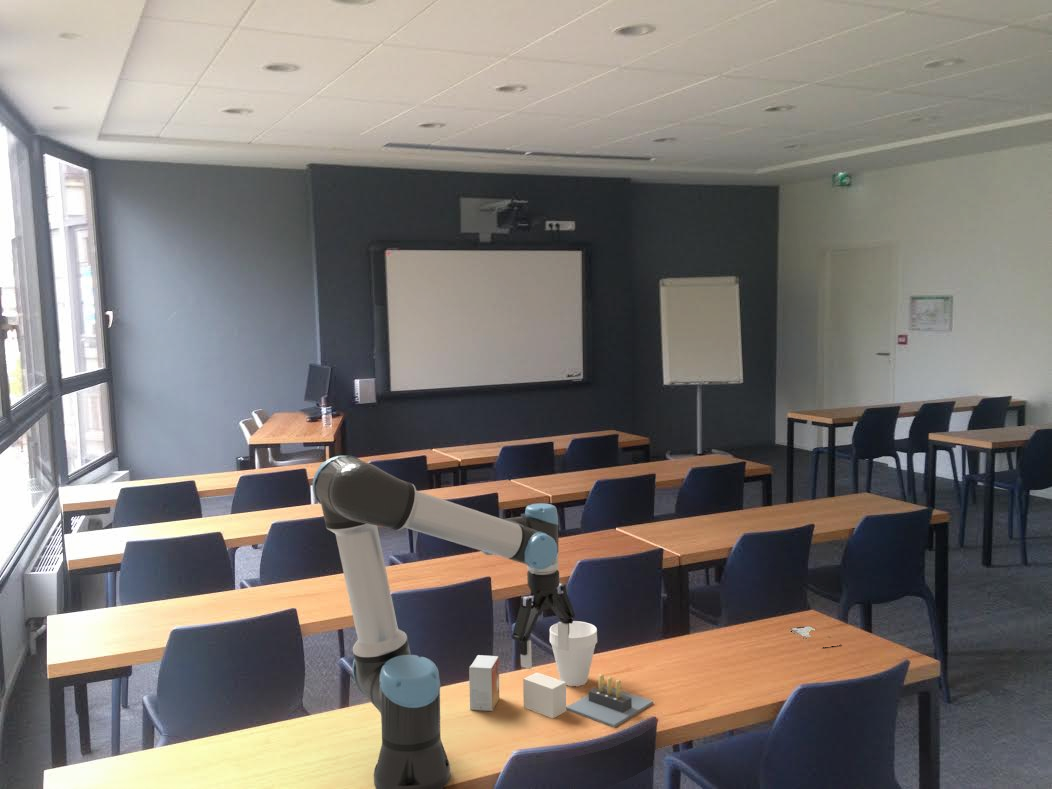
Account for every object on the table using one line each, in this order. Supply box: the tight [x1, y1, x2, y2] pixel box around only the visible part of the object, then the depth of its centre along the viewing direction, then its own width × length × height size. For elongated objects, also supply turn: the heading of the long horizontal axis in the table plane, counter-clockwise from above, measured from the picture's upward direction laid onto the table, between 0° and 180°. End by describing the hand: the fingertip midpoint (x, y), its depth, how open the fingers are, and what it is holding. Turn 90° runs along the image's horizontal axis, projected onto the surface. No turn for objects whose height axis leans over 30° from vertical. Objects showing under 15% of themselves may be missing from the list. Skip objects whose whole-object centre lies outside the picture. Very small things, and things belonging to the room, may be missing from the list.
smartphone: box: [789, 625, 831, 641], centre depth 240 cm, size 7×1×15 cm
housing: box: [522, 671, 567, 719], centre depth 197 cm, size 5×9×7 cm, turn 48°
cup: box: [549, 620, 598, 687], centre depth 212 cm, size 12×12×14 cm
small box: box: [468, 654, 500, 712], centre depth 200 cm, size 8×6×10 cm
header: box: [566, 673, 654, 728], centre depth 198 cm, size 16×14×7 cm
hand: (545, 658), depth 196 cm, fingers open, 13 cm apart
